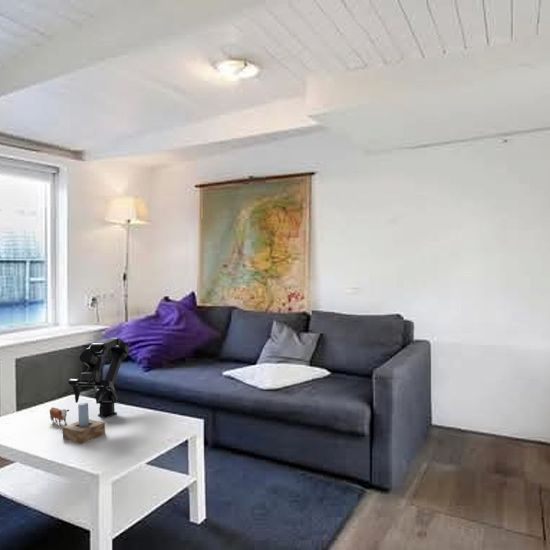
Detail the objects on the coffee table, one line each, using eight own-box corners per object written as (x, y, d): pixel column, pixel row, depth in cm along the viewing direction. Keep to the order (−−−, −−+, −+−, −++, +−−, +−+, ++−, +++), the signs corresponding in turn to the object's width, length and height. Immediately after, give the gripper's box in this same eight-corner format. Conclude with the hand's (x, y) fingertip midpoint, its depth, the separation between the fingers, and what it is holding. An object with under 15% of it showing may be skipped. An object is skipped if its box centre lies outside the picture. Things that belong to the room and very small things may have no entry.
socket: (86, 429, 207) (86, 418, 206) (105, 433, 201) (104, 422, 201) (62, 438, 196) (62, 427, 196) (81, 443, 190) (81, 431, 190)
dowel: (87, 433, 201) (86, 402, 201) (90, 436, 198) (89, 404, 198) (78, 436, 199) (77, 404, 199) (80, 438, 196) (79, 406, 195)
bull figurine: (62, 428, 208) (62, 411, 208) (48, 422, 216) (47, 405, 216) (71, 425, 212) (71, 408, 211) (57, 420, 220) (56, 403, 219)
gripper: (67, 363, 206) (58, 398, 199) (109, 364, 206) (101, 399, 199) (76, 370, 216) (68, 403, 208) (116, 371, 216) (109, 405, 208)
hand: (86, 403), depth 206 cm, fingers open, 9 cm apart
